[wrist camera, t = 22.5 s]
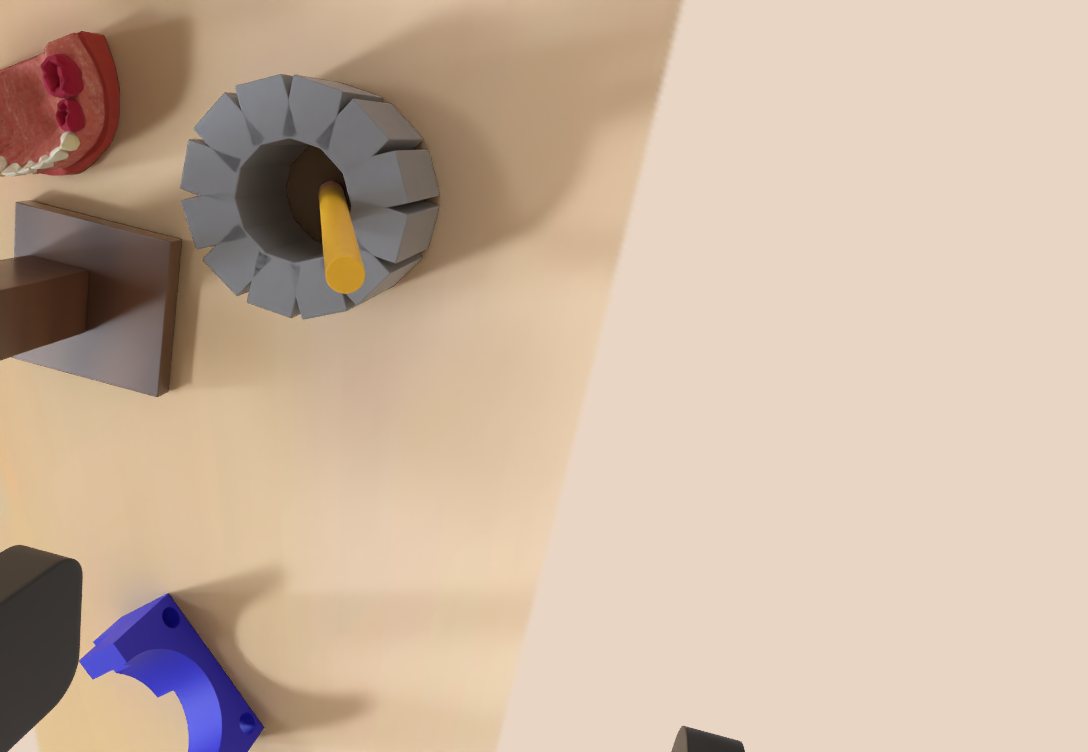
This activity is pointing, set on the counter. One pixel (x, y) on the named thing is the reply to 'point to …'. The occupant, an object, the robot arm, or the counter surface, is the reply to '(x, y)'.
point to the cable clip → (177, 674)
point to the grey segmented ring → (262, 204)
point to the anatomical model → (58, 108)
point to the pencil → (339, 241)
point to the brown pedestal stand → (90, 298)
